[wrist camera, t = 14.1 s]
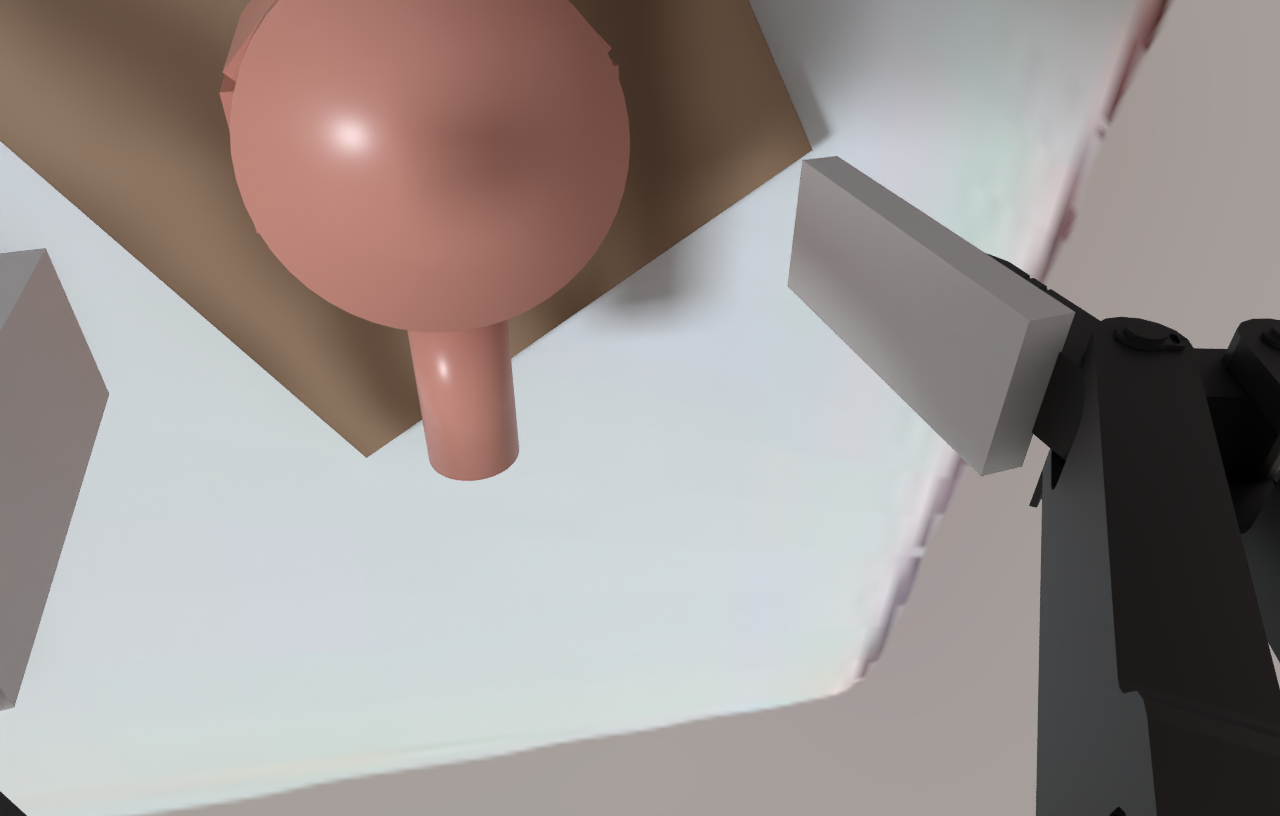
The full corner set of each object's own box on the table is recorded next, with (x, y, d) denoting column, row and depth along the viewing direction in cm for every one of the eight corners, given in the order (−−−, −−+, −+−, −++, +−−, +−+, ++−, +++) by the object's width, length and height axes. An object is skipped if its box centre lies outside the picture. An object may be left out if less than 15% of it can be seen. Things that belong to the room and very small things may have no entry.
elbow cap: (209, -91, 23) (172, -53, 17) (550, -96, 25) (630, -65, 19) (325, 387, 32) (330, 529, 26) (570, 350, 34) (629, 470, 28)
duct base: (364, 437, 36) (379, 597, 29) (-195, -58, 23) (-437, 7, 15) (795, 138, 35) (927, 227, 27) (477, -588, 21) (569, -801, 14)
